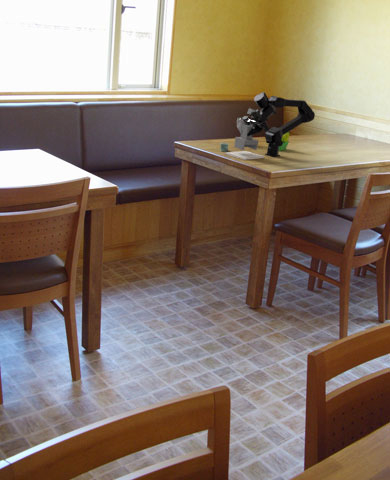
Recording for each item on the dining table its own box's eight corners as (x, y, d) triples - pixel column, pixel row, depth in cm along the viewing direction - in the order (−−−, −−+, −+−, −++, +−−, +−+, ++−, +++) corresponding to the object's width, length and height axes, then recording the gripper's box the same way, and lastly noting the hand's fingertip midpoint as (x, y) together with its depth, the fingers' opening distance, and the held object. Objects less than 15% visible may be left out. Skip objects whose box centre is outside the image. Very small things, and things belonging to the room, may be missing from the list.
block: (227, 150, 346) (228, 143, 344) (227, 151, 342) (228, 144, 340) (220, 149, 345) (221, 142, 344) (220, 151, 342) (221, 144, 340)
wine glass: (235, 141, 375) (238, 117, 370) (248, 143, 374) (251, 118, 369) (233, 143, 368) (236, 118, 363) (246, 145, 367) (249, 120, 362)
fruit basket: (276, 147, 372) (279, 128, 368) (290, 149, 368) (293, 131, 364) (269, 149, 362) (272, 130, 358) (283, 152, 358) (286, 132, 354)
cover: (247, 146, 339) (250, 124, 335) (257, 150, 332) (260, 127, 327) (234, 147, 334) (236, 124, 330) (243, 150, 327) (246, 127, 323)
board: (245, 152, 344) (245, 150, 344) (263, 157, 335) (264, 156, 335) (225, 154, 334) (225, 152, 333) (244, 159, 324) (244, 158, 324)
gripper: (247, 101, 334) (228, 121, 332) (267, 106, 319) (248, 127, 317) (256, 115, 341) (238, 135, 339) (277, 121, 326) (258, 142, 324)
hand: (245, 134), depth 330 cm, fingers closed on cover, 4 cm apart
